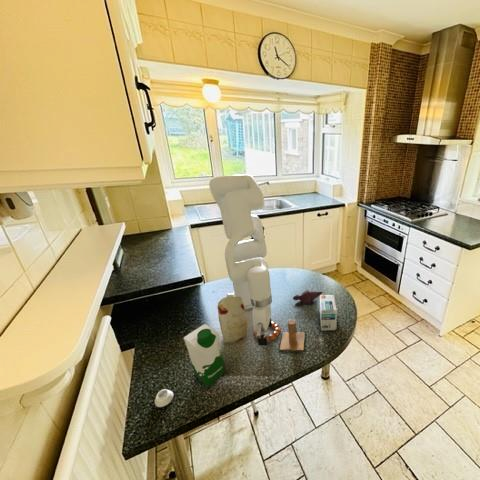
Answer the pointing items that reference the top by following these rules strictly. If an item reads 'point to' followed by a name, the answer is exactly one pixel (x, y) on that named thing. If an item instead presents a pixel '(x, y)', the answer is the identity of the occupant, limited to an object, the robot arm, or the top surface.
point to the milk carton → (205, 354)
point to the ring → (274, 334)
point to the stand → (292, 338)
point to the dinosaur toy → (306, 297)
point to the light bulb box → (328, 312)
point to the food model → (232, 318)
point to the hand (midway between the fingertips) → (265, 335)
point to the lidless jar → (163, 397)
